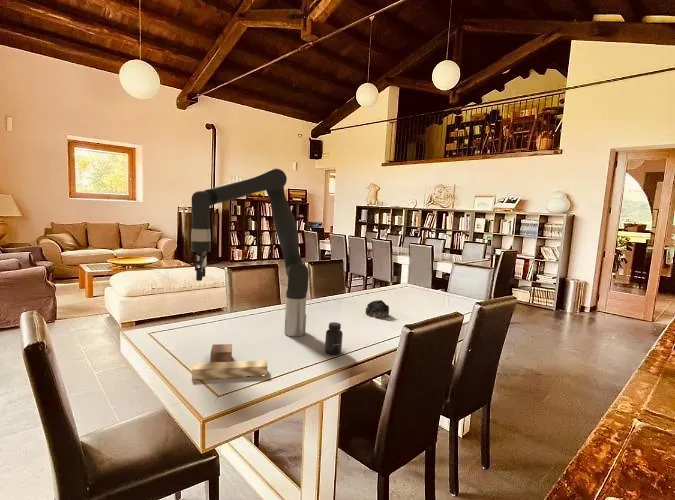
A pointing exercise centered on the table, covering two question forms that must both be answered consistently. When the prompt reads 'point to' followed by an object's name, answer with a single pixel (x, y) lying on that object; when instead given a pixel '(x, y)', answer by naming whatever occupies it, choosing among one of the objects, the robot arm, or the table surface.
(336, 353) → the supplement bottle
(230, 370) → the ash board
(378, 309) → the black rock
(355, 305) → the table surface
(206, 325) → the table surface
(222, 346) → the walnut block
